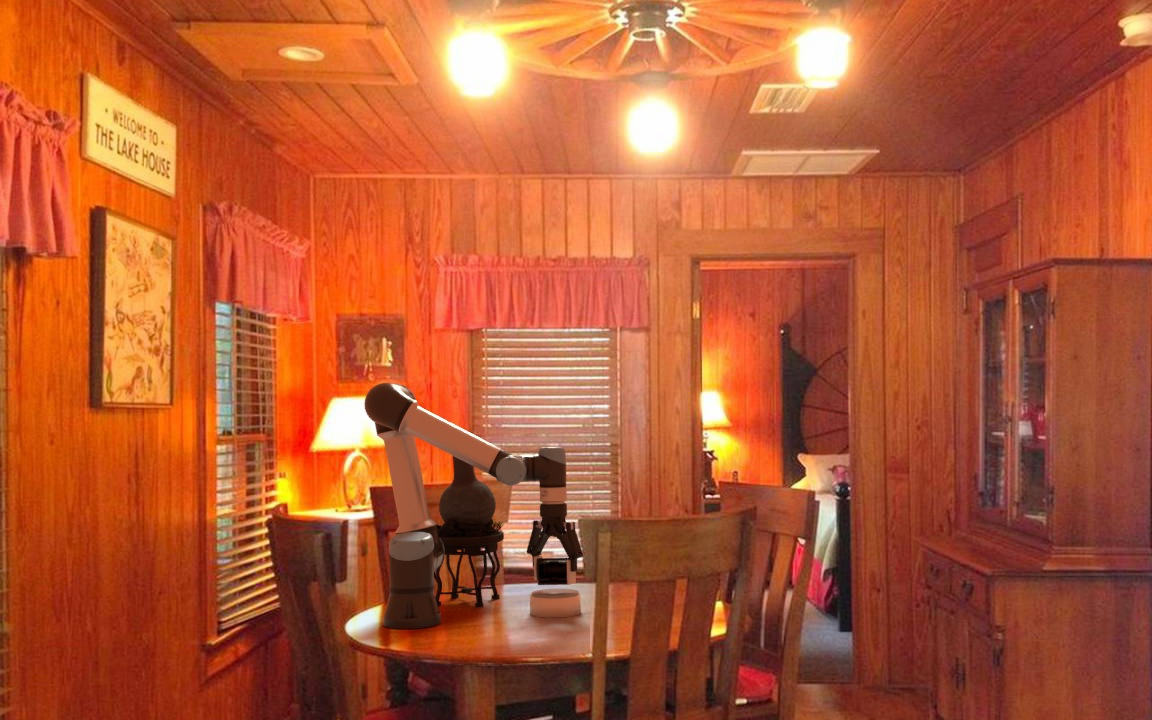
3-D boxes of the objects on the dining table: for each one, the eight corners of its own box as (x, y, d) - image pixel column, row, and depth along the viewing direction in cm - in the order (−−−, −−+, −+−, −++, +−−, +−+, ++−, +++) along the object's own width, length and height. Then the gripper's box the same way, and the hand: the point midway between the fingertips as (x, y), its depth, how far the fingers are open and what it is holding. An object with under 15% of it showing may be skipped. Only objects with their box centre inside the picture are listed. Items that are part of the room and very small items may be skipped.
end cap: (573, 580, 295) (573, 556, 296) (572, 584, 288) (572, 559, 289) (538, 581, 296) (537, 556, 296) (535, 585, 289) (535, 560, 289)
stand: (519, 613, 291) (519, 593, 291) (554, 606, 301) (553, 586, 302) (556, 619, 282) (556, 598, 282) (591, 611, 292) (590, 591, 292)
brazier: (519, 598, 317) (516, 447, 319) (475, 610, 297) (472, 450, 300) (459, 593, 328) (457, 448, 331) (412, 605, 309) (410, 450, 311)
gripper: (513, 502, 299) (514, 579, 297) (576, 505, 282) (578, 587, 281) (531, 500, 304) (533, 576, 303) (594, 503, 288) (596, 583, 287)
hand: (554, 581), depth 292 cm, fingers closed on end cap, 12 cm apart
